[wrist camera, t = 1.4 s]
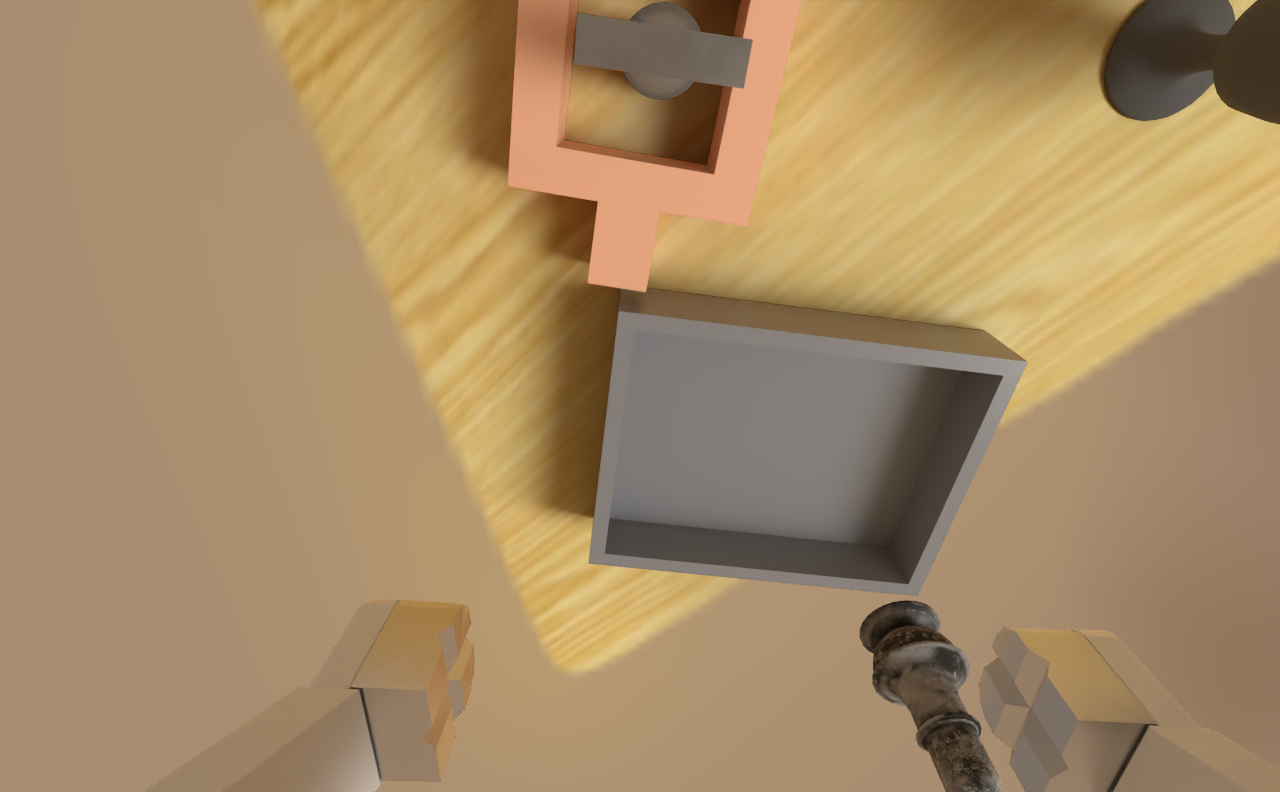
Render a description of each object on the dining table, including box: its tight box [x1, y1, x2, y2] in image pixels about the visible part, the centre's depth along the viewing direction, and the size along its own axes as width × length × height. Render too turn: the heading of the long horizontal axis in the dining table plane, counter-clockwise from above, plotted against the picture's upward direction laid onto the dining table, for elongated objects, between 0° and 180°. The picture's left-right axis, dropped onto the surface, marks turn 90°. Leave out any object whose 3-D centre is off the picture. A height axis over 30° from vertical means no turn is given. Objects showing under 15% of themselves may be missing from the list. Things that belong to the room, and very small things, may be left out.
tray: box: [589, 288, 1028, 596], centre depth 32 cm, size 15×19×4 cm
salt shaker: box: [860, 601, 1001, 792], centre depth 35 cm, size 6×6×12 cm
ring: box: [508, 0, 802, 292], centre depth 25 cm, size 14×10×3 cm
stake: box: [574, 2, 753, 100], centre depth 21 cm, size 2×5×10 cm, turn 83°
